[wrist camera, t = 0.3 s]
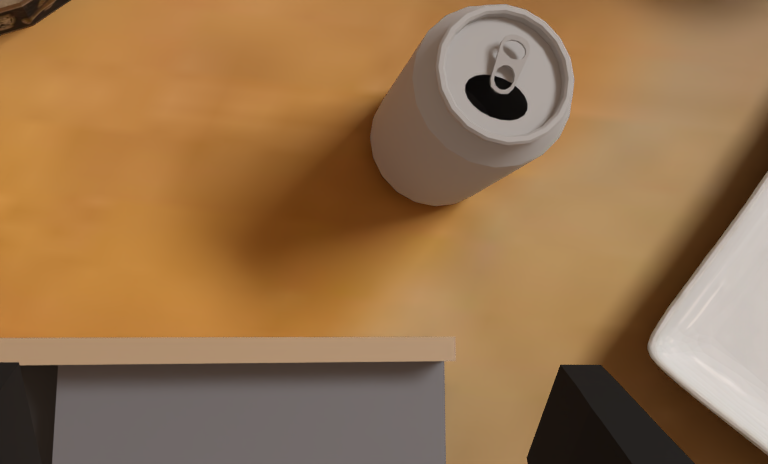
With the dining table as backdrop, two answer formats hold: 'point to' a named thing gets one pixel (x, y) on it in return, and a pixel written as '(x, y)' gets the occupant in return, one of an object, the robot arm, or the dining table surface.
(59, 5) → the grey brown round disc
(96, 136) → the dining table surface
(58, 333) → the dining table surface
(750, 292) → the square plate
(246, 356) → the box
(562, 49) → the can
